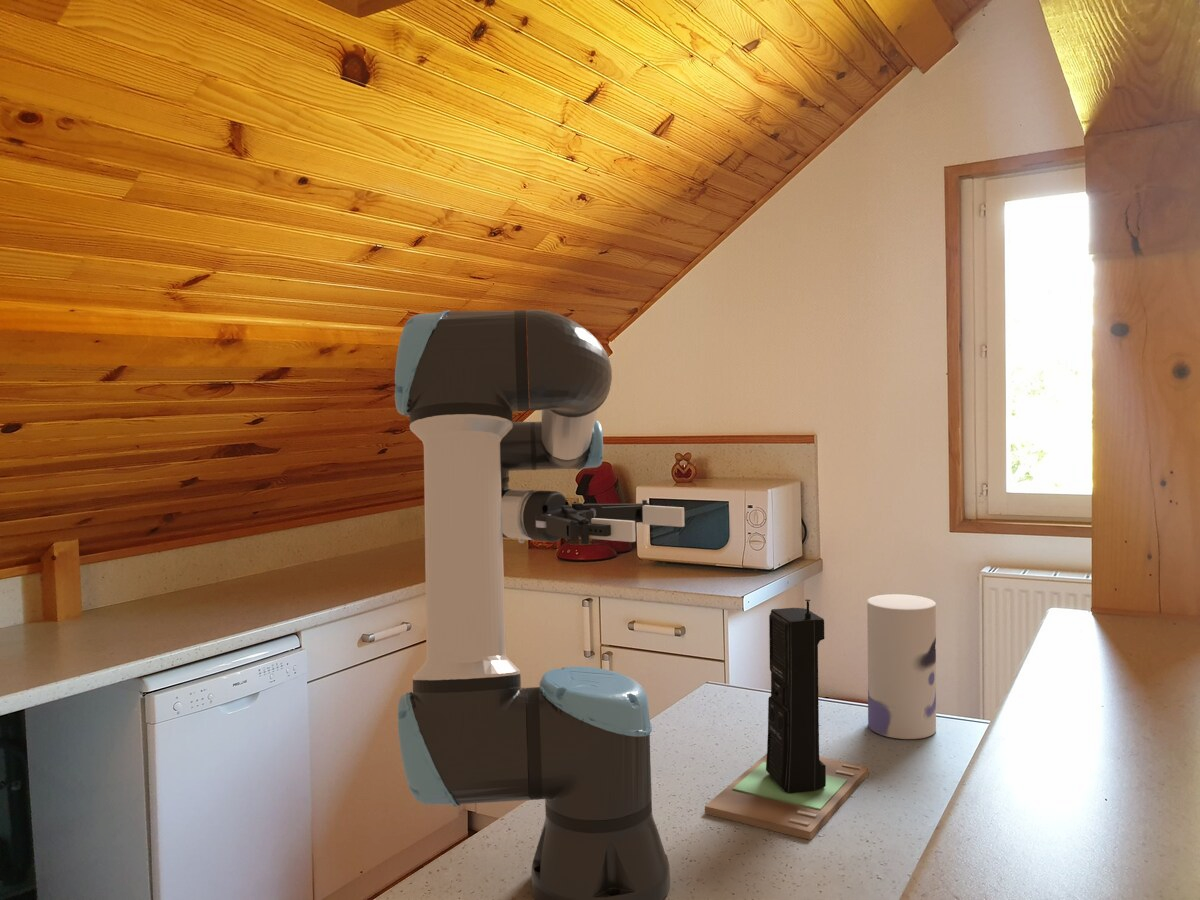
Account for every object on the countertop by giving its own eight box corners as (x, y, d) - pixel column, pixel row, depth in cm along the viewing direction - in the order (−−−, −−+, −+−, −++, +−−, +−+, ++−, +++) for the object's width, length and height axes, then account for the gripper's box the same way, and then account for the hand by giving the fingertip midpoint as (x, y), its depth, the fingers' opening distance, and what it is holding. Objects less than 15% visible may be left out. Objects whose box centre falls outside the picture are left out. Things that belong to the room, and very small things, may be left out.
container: (940, 741, 144) (940, 609, 142) (870, 738, 146) (869, 607, 144) (931, 718, 154) (931, 593, 152) (865, 715, 156) (865, 592, 154)
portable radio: (761, 770, 132) (758, 590, 130) (803, 766, 134) (800, 587, 132) (783, 795, 125) (780, 603, 123) (827, 790, 126) (825, 600, 124)
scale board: (810, 840, 115) (810, 830, 115) (704, 813, 123) (704, 804, 123) (869, 773, 133) (869, 765, 133) (774, 754, 141) (773, 746, 141)
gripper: (583, 527, 156) (701, 536, 144) (482, 554, 135) (611, 567, 123) (582, 481, 155) (700, 486, 144) (480, 500, 134) (609, 508, 123)
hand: (659, 524), depth 133 cm, fingers open, 13 cm apart
